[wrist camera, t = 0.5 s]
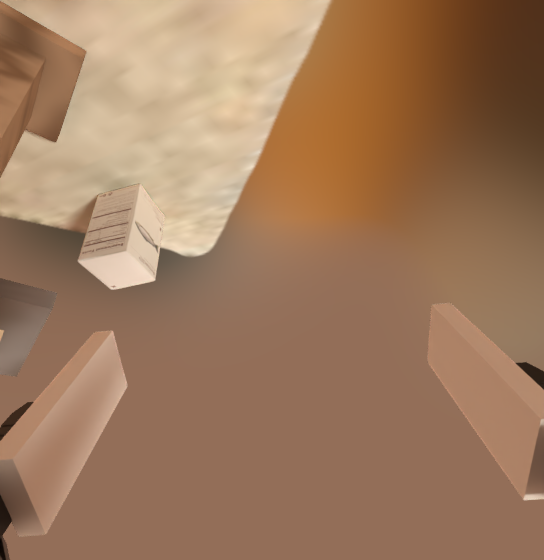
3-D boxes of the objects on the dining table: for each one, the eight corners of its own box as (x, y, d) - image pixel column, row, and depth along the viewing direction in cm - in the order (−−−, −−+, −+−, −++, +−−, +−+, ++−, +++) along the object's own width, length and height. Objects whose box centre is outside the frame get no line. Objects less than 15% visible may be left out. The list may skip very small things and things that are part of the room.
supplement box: (166, 215, 60) (157, 282, 53) (124, 225, 62) (110, 291, 54) (141, 181, 54) (127, 251, 47) (95, 193, 56) (75, 262, 48)
